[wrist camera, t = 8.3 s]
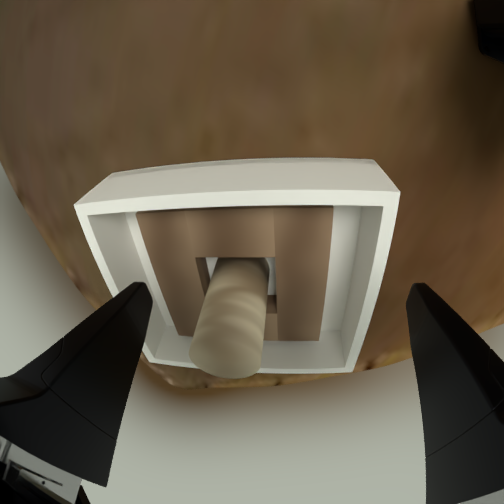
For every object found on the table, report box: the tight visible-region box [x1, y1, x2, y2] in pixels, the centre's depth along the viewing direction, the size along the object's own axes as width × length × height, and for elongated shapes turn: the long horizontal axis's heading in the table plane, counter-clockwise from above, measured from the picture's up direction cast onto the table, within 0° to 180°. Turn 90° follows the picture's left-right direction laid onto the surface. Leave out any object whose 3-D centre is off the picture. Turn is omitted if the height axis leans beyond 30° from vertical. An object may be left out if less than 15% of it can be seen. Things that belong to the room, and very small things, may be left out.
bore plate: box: [135, 205, 334, 341], centre depth 21 cm, size 12×12×2 cm
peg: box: [189, 257, 270, 379], centre depth 18 cm, size 4×4×8 cm
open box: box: [74, 158, 400, 374], centre depth 20 cm, size 18×16×5 cm
